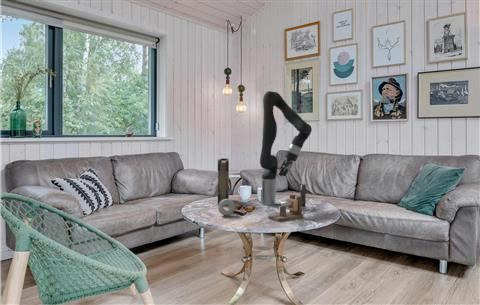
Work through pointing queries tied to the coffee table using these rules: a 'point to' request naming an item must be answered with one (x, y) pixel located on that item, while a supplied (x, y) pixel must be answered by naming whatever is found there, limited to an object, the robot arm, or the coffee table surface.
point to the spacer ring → (295, 204)
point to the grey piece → (303, 195)
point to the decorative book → (223, 179)
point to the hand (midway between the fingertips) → (281, 175)
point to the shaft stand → (290, 215)
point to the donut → (223, 203)
